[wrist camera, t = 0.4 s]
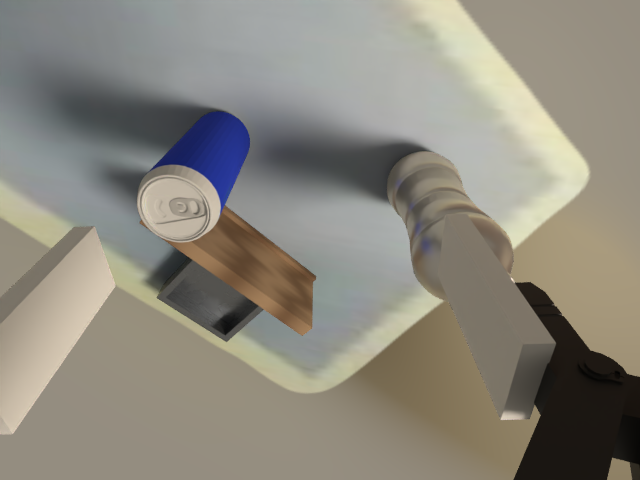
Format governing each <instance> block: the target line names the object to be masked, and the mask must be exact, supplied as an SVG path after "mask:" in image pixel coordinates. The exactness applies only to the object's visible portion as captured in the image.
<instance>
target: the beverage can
mask: <svg viewBox="0 0 640 480" xmlns="http://www.w3.org/2000/svg"><path fill="white" fill-rule="evenodd" d="M249 148H250V138H249V134H248V131H247V129H246V127H245V126H244V124H243V123H242V122H241V121H240V120H239V119H238V118H236V117H235V116H233V115H231V114H229V113H226V112H219V111H216V112H211V113H208V114H206V115H204V116H203V117H201V118H200V119H199V120H198V121H197V122H196V123H195V124H194V125H193V126H192V128H191V129H190V130H189V131H188V132H187V133H186V134H185V135H184V136H183V137H182V138H181V139H180V140H179V141H178V142H177V143H176V144H175V145H174V146H173V147H172V148H171V149H170V150H169V151H168V152H167V153H166V155H165V156H164V157H163V158H162V159H161V160H160V161H159V162H158V163H157V164H156V165H155V166H154V167H153V168H152V169H151V170H150V171H149V172H148V173H147V174H146V175H145V176H144V178H143V179H142V181H141V183H140V185H139V189H138V196H137V208H138V212H139V215H140V217H141V219H142V221H143V222H144V224H145V225H146V226H147V227H148V228H149V229H150V230H151V231H152V232H153V233H155V234H156V235H158V236H159V237H161V238H163V239H166V240H169V241H172V242H190V241H193V240H196V239H198V238H200V237H201V236H203V235H204V234H206V233H207V232H209V231H210V230H211V229H212V228H213V227H214V226H215V224H216V223H217V221H218V219H219V217H220V215H221V212H222V210H223V208H224V206H225V203H226V201H227V199H228V197H229V194H230V192H231V190H232V187H233V185H234V183H235V181H236V178H237V176H238V174H239V172H240V169H241V167H242V165H243V163H244V160H245V158H246V156H247V154H248V151H249Z"/></svg>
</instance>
